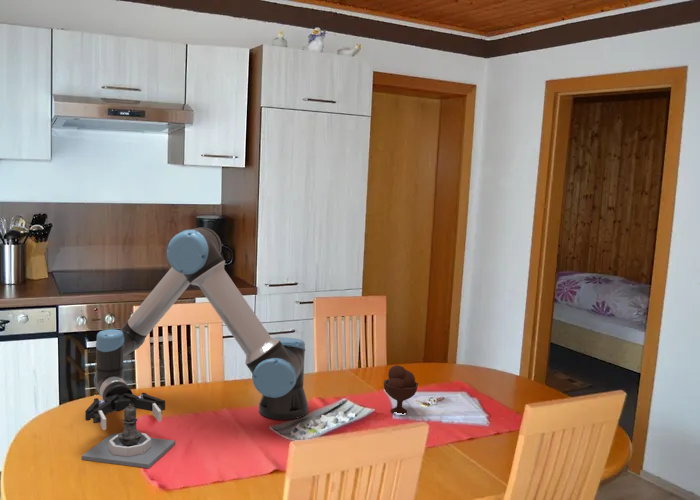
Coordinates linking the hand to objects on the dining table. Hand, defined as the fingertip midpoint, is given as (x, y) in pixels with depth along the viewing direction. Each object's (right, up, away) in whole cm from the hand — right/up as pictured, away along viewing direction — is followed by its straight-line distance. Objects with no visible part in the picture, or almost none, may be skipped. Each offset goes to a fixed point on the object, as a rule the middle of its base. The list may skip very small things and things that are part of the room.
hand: (132, 420), depth 167 cm
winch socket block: (-2, -9, +4) cm, 10 cm away
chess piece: (-2, -8, +4) cm, 9 cm away
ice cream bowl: (+70, -8, +41) cm, 82 cm away
